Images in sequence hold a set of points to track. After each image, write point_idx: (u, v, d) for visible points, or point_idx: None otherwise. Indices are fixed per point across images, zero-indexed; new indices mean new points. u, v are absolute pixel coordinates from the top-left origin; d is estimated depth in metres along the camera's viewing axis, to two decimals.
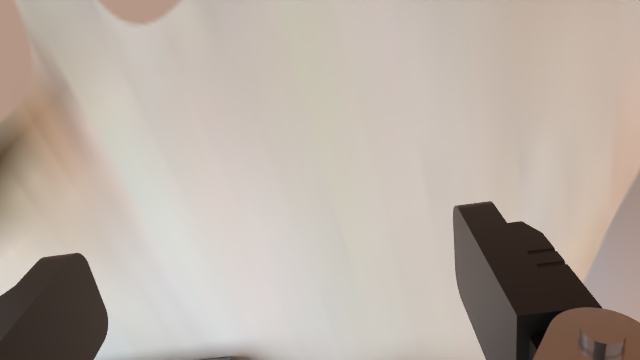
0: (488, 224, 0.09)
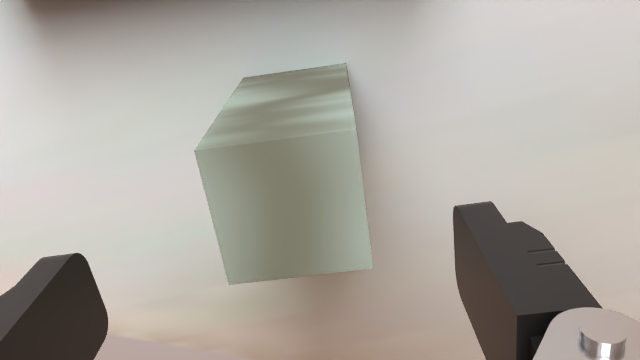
0: (488, 224, 0.09)
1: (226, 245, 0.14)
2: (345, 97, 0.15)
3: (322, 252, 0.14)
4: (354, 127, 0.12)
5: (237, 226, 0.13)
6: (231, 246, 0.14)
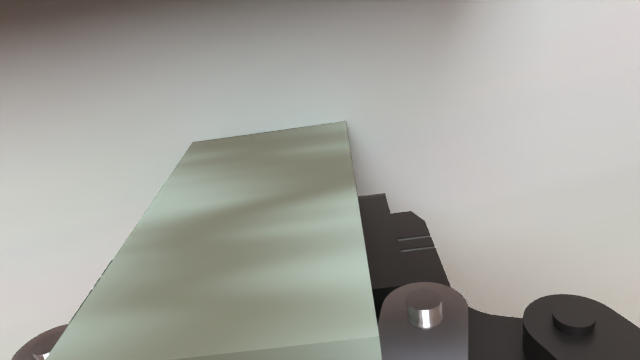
0: (373, 213, 0.10)
1: None
2: (349, 212, 0.08)
3: None
4: (374, 327, 0.06)
5: None
6: None
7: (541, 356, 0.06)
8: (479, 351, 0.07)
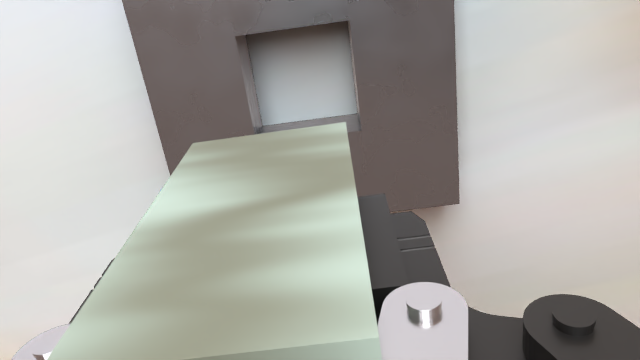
0: (373, 213, 0.10)
1: None
2: (350, 213, 0.08)
3: None
4: (374, 329, 0.06)
5: None
6: None
7: (541, 356, 0.06)
8: (479, 351, 0.07)
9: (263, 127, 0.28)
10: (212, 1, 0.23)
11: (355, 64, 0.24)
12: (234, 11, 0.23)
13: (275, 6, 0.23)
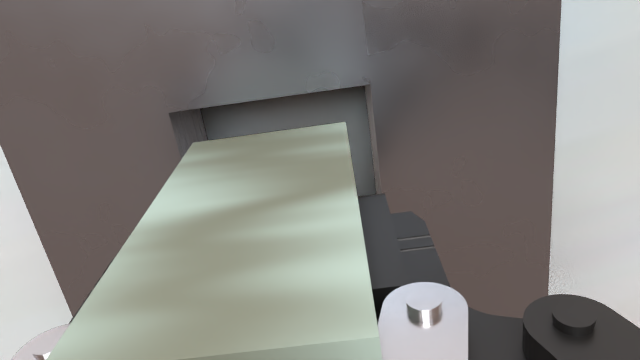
0: (373, 213, 0.10)
1: None
2: (350, 213, 0.08)
3: None
4: (374, 328, 0.06)
5: None
6: None
7: (541, 356, 0.06)
8: (479, 351, 0.07)
9: None
10: (124, 53, 0.13)
11: (380, 157, 0.14)
12: (164, 71, 0.13)
13: (237, 62, 0.13)
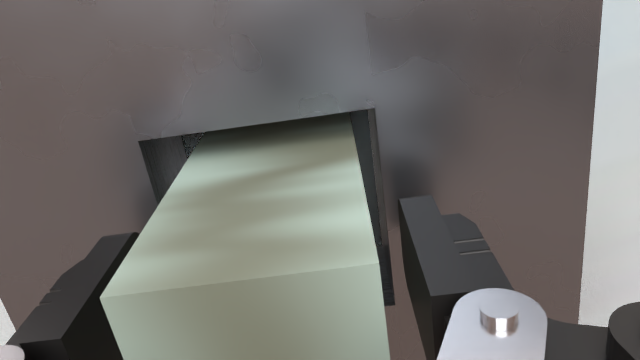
0: (423, 215, 0.10)
1: None
2: (353, 176, 0.10)
3: None
4: (375, 257, 0.07)
5: None
6: None
7: None
8: None
9: None
10: (83, 72, 0.11)
11: (385, 191, 0.12)
12: (132, 93, 0.11)
13: (217, 82, 0.11)
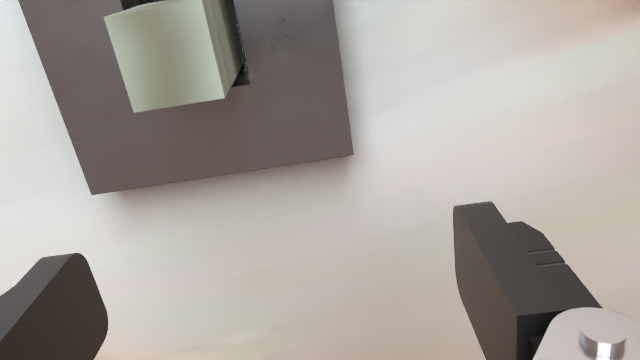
0: (488, 224, 0.09)
1: (129, 83, 0.21)
2: None
3: (191, 87, 0.22)
4: (201, 0, 0.20)
5: (134, 69, 0.21)
6: (132, 84, 0.21)
7: None
8: None
9: None
10: None
11: (238, 18, 0.25)
12: None
13: None
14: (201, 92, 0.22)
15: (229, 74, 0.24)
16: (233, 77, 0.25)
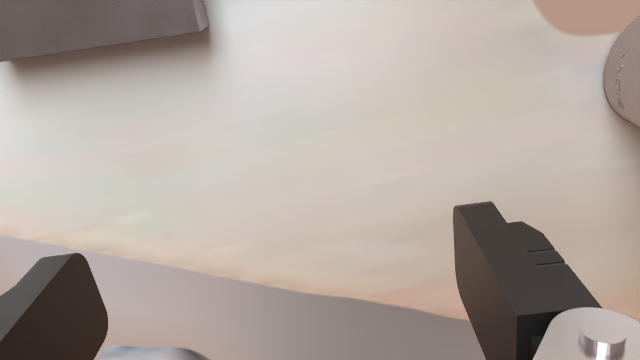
0: (488, 224, 0.09)
1: None
2: None
3: None
4: None
5: None
6: None
7: None
8: None
9: None
10: None
11: None
12: None
13: None
14: None
15: None
16: None
